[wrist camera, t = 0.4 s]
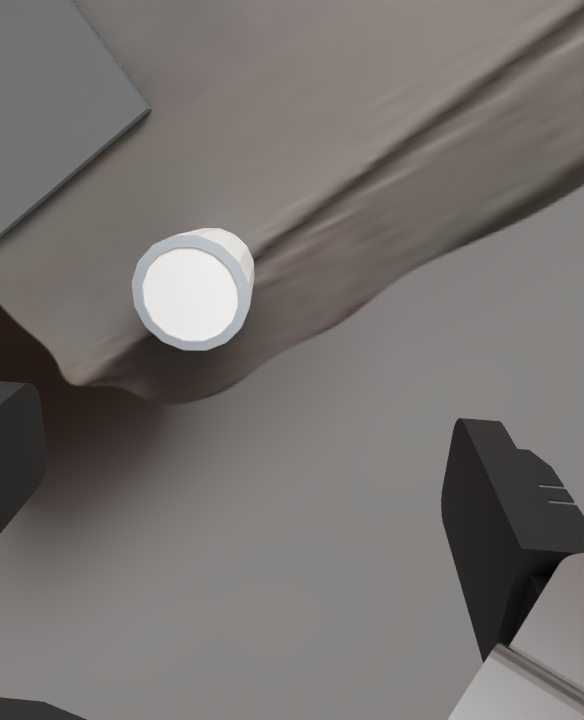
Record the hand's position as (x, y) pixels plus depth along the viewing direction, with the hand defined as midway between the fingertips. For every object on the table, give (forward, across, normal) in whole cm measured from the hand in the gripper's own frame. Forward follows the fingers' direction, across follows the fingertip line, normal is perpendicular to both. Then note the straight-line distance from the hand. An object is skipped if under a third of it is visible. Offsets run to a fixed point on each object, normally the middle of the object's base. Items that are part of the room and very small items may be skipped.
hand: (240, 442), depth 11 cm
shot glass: (+28, +6, +3) cm, 29 cm away
